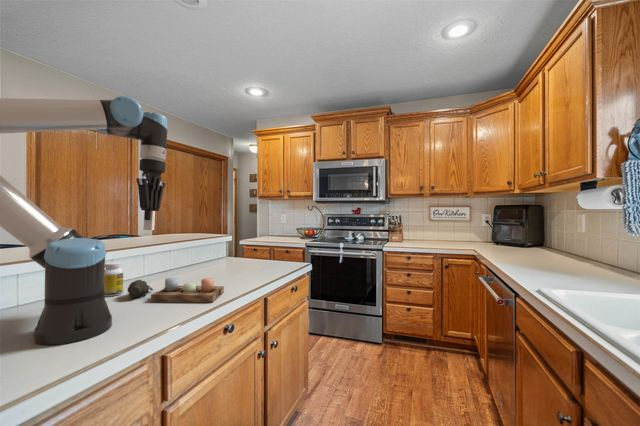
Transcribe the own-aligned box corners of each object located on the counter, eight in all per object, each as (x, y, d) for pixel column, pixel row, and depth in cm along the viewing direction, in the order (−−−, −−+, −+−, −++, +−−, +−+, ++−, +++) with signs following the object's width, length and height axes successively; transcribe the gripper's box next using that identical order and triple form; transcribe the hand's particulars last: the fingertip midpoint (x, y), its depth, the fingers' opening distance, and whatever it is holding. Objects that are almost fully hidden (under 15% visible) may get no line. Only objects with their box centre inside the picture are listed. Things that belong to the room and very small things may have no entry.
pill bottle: (114, 297, 101) (114, 265, 101) (96, 297, 101) (97, 264, 101) (127, 292, 107) (127, 261, 107) (110, 291, 108) (110, 261, 107)
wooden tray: (223, 292, 109) (223, 286, 109) (212, 302, 97) (212, 295, 97) (168, 292, 109) (168, 285, 109) (150, 302, 97) (150, 294, 97)
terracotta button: (211, 292, 101) (211, 281, 101) (199, 292, 101) (199, 280, 101) (215, 288, 105) (215, 278, 105) (203, 288, 105) (204, 278, 105)
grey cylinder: (174, 291, 101) (174, 280, 101) (162, 291, 101) (162, 280, 101) (180, 288, 105) (180, 277, 105) (168, 288, 105) (168, 277, 105)
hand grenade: (151, 291, 100) (157, 285, 111) (135, 278, 98) (142, 273, 109) (137, 305, 98) (144, 298, 109) (120, 292, 96) (129, 286, 108)
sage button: (192, 297, 101) (193, 286, 101) (180, 297, 101) (181, 285, 101) (197, 293, 105) (197, 283, 105) (186, 293, 105) (186, 282, 105)
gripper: (153, 156, 89) (148, 231, 88) (173, 164, 102) (170, 229, 101) (129, 155, 89) (124, 230, 88) (152, 163, 102) (148, 228, 101)
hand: (148, 229), depth 95 cm, fingers closed
